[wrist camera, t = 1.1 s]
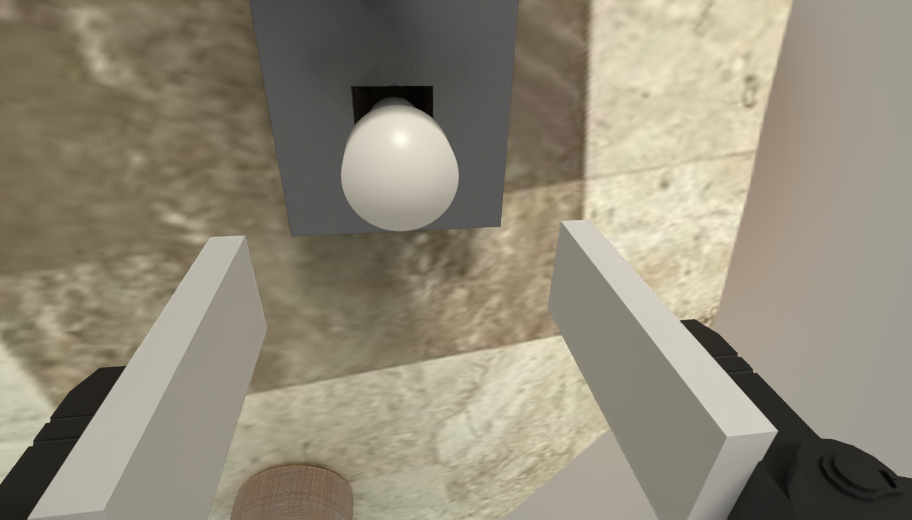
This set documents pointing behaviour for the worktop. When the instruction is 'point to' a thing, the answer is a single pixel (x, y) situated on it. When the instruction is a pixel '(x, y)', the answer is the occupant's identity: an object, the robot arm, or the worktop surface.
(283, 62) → the mount
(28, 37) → the worktop surface
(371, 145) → the knob
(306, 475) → the planter
